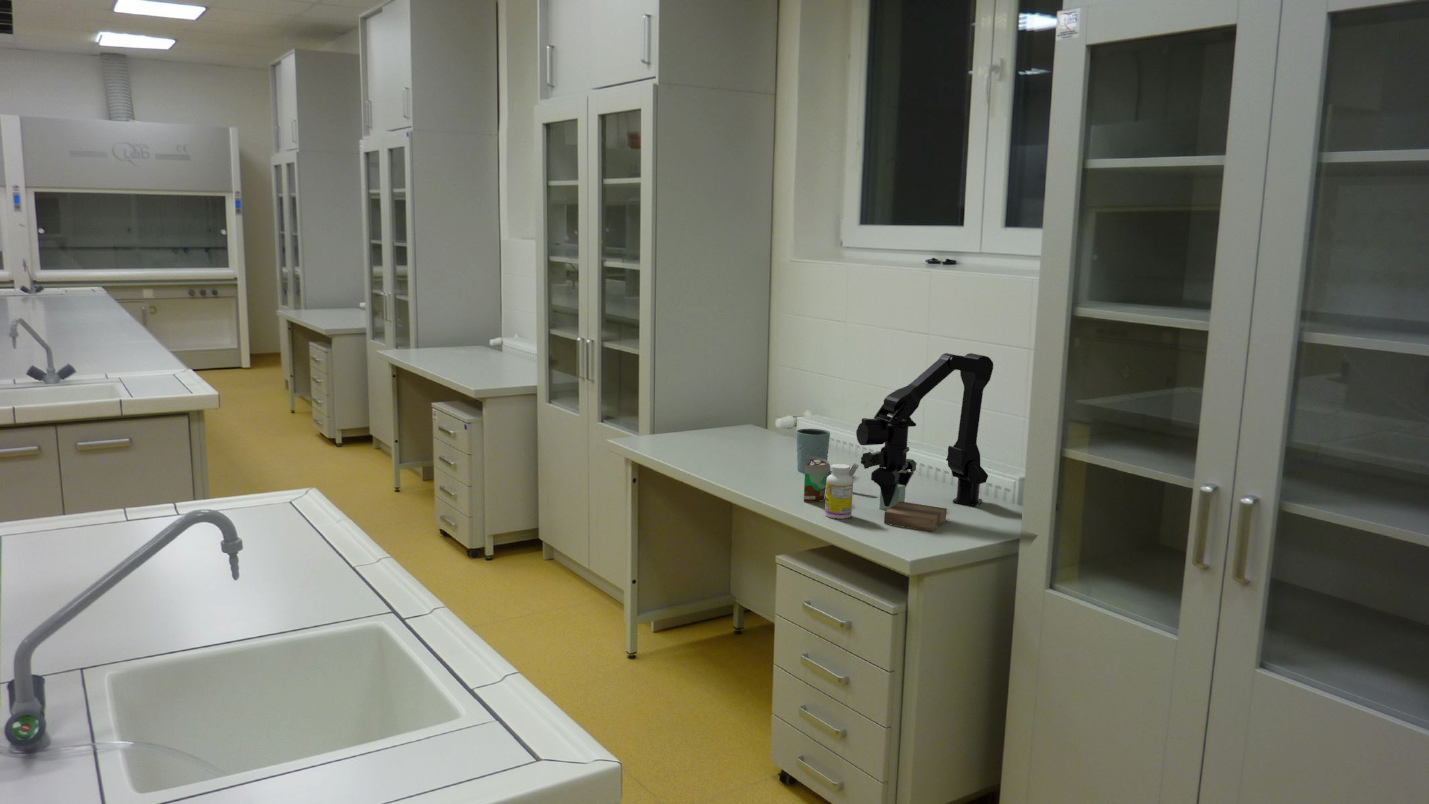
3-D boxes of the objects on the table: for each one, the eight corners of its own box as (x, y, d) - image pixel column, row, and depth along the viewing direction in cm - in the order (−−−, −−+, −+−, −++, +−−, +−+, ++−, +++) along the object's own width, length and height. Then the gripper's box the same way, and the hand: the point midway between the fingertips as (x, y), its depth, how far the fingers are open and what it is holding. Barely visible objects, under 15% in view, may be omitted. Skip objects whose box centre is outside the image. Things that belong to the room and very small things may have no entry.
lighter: (830, 490, 279) (832, 461, 278) (832, 488, 280) (833, 460, 279) (856, 493, 276) (857, 464, 275) (857, 491, 278) (859, 463, 277)
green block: (885, 505, 265) (887, 482, 264) (904, 508, 263) (905, 485, 262) (879, 509, 261) (880, 486, 260) (898, 512, 259) (899, 489, 258)
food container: (826, 505, 263) (828, 467, 261) (803, 503, 264) (804, 465, 262) (830, 493, 275) (832, 457, 273) (808, 492, 276) (810, 456, 274)
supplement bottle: (827, 511, 257) (829, 461, 255) (853, 514, 255) (856, 464, 253) (822, 517, 251) (824, 467, 249) (848, 520, 249) (851, 469, 247)
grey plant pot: (811, 476, 294) (813, 436, 292) (787, 469, 302) (788, 430, 300) (835, 472, 301) (837, 432, 299) (810, 465, 308) (812, 426, 306)
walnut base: (899, 512, 258) (900, 501, 257) (945, 520, 252) (946, 508, 252) (883, 523, 247) (884, 511, 247) (931, 531, 242) (932, 519, 241)
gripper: (878, 434, 271) (874, 490, 274) (853, 445, 255) (850, 505, 257) (918, 439, 266) (914, 496, 268) (896, 451, 250) (892, 512, 252)
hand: (892, 502), depth 262 cm, fingers open, 8 cm apart
